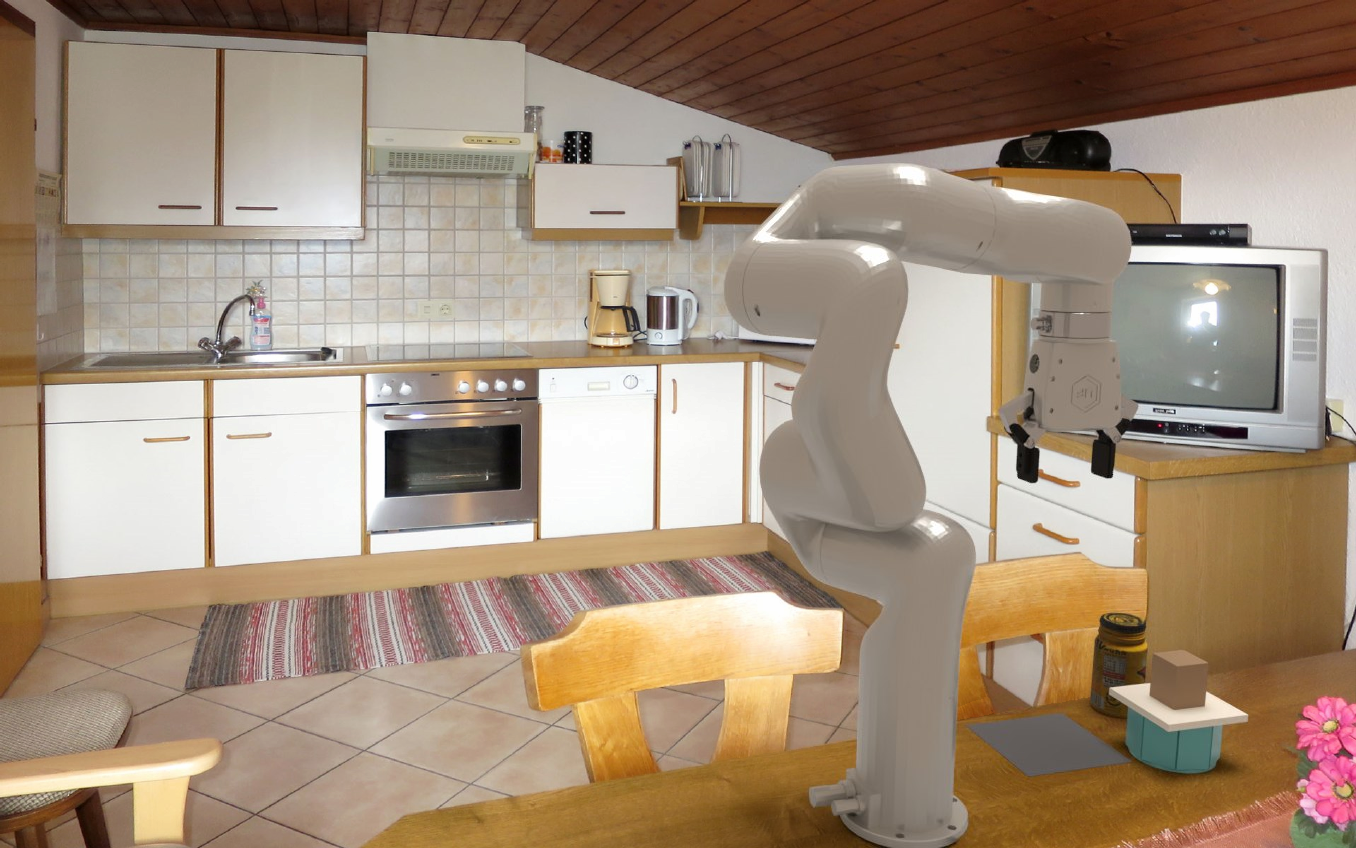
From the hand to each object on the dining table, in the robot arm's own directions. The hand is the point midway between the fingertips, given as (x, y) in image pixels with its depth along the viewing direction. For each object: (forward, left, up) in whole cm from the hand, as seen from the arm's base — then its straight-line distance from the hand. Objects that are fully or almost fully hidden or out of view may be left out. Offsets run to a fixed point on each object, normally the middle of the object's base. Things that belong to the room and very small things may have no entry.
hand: (1064, 478), depth 126 cm
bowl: (+9, -10, -30) cm, 33 cm away
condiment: (+10, +2, -31) cm, 32 cm away
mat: (-3, -4, -30) cm, 31 cm away
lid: (+9, -10, -24) cm, 28 cm away
